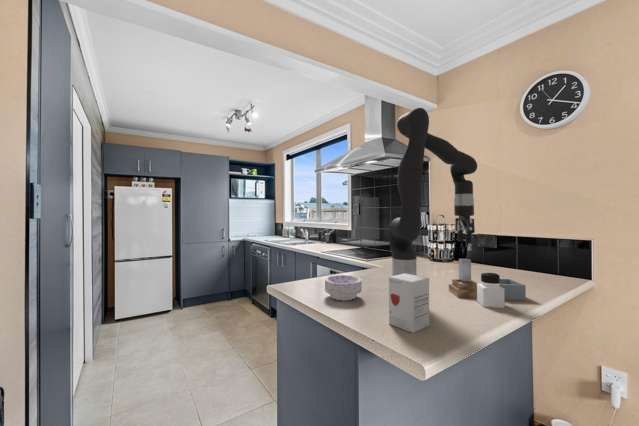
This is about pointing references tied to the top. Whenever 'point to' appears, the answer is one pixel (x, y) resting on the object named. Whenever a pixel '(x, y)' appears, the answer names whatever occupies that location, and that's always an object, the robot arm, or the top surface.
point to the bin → (513, 289)
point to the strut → (464, 271)
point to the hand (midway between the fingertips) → (464, 242)
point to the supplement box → (409, 302)
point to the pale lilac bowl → (343, 287)
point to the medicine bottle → (490, 291)
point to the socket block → (463, 289)
